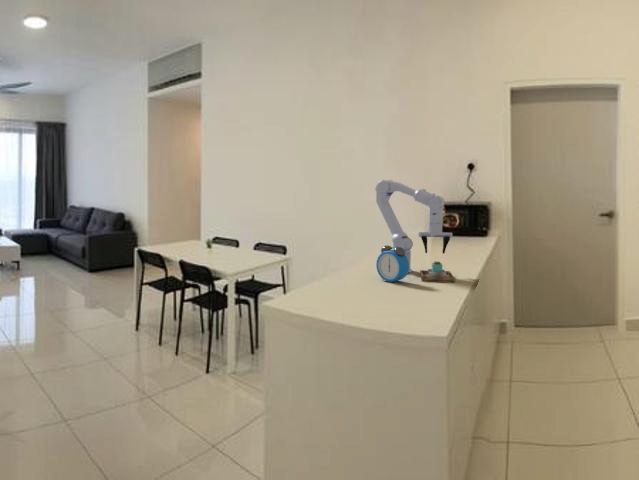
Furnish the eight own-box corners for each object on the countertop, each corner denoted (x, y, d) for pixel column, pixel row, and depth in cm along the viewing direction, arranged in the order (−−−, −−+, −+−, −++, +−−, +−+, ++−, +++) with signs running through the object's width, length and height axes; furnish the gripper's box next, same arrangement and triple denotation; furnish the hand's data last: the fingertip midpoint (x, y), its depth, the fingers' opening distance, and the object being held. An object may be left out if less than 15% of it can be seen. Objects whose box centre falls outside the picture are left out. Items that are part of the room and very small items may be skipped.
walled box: (422, 281, 192) (422, 272, 191) (419, 275, 204) (420, 266, 204) (453, 282, 190) (454, 273, 189) (449, 276, 203) (449, 267, 202)
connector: (432, 278, 194) (432, 262, 193) (431, 276, 198) (431, 261, 197) (441, 278, 193) (442, 262, 192) (440, 276, 197) (441, 261, 196)
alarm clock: (375, 279, 195) (376, 245, 193) (384, 277, 199) (385, 243, 197) (400, 284, 185) (401, 248, 183) (409, 282, 190) (410, 247, 188)
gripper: (419, 223, 200) (419, 253, 202) (453, 224, 198) (452, 254, 200) (418, 222, 207) (418, 251, 209) (451, 222, 205) (450, 252, 207)
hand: (434, 252), depth 205 cm, fingers open, 7 cm apart
